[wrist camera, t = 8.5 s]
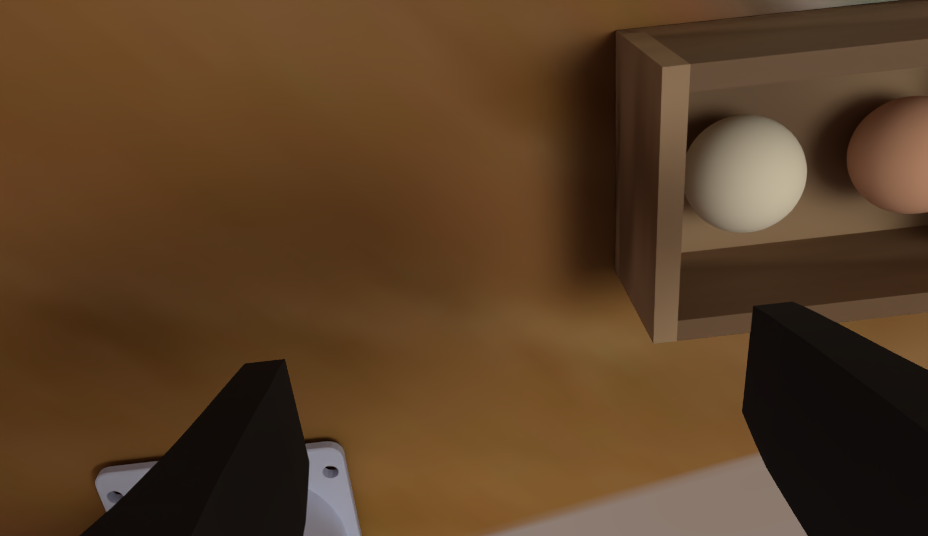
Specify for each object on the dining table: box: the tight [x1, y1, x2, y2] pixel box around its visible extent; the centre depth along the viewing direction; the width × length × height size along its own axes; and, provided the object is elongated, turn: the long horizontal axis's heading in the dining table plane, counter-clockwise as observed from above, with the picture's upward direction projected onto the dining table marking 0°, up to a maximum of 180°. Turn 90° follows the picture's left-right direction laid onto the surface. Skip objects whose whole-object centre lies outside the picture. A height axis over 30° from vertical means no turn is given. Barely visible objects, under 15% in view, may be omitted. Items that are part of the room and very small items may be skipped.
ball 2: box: [847, 96, 928, 214], centre depth 20 cm, size 3×3×3 cm
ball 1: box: [684, 114, 807, 233], centre depth 20 cm, size 3×3×3 cm
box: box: [615, 0, 928, 344], centre depth 20 cm, size 7×10×4 cm
